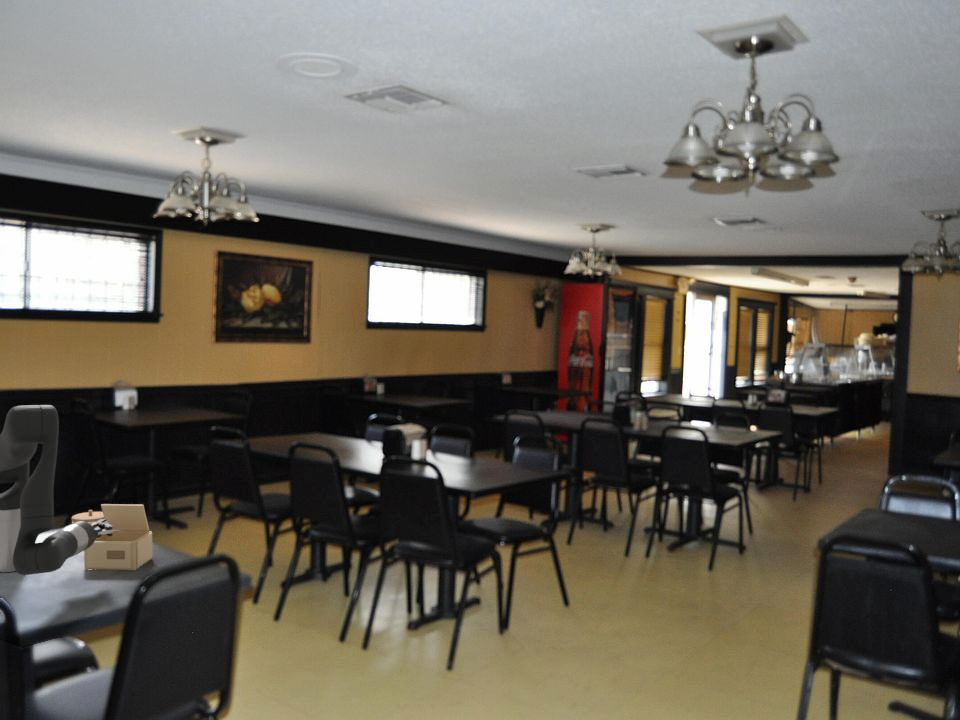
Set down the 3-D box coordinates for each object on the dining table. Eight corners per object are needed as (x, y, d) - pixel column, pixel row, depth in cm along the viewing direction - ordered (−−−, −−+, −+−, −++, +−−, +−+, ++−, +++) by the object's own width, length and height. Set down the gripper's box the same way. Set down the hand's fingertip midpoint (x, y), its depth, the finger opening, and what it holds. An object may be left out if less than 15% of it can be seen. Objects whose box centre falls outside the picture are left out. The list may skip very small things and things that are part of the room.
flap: (107, 530, 249) (100, 505, 245) (108, 529, 250) (101, 504, 246) (148, 530, 249) (142, 505, 245) (149, 529, 250) (143, 504, 245)
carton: (81, 570, 237) (81, 542, 237) (102, 557, 250) (102, 530, 249) (135, 571, 237) (135, 542, 237) (153, 558, 250) (153, 531, 249)
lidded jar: (71, 537, 272) (70, 508, 271) (108, 534, 277) (107, 505, 276) (73, 546, 262) (72, 515, 262) (111, 541, 267) (110, 512, 267)
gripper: (98, 525, 216) (128, 509, 234) (46, 524, 217) (79, 508, 234) (99, 554, 217) (128, 536, 234) (47, 554, 217) (80, 536, 234)
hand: (104, 522), depth 234 cm, fingers closed
